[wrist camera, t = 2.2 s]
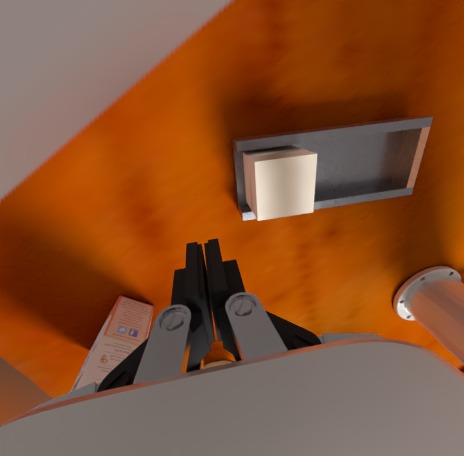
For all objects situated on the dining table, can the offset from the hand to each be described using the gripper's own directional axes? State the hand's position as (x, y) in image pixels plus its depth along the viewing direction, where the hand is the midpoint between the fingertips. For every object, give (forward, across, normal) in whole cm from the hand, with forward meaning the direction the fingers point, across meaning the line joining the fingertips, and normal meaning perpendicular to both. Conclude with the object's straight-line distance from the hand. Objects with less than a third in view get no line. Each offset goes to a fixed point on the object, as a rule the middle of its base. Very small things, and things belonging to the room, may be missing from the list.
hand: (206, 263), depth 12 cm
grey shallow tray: (+17, -16, 0) cm, 23 cm away
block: (+17, -8, 0) cm, 19 cm away
